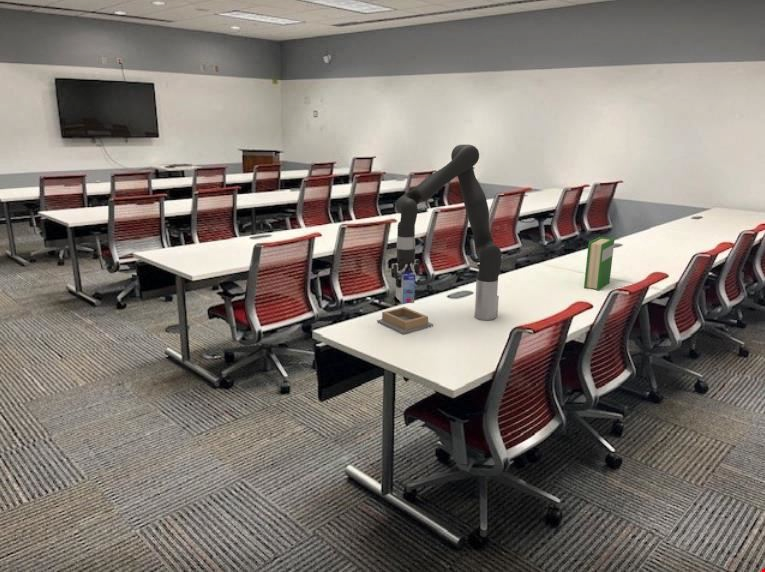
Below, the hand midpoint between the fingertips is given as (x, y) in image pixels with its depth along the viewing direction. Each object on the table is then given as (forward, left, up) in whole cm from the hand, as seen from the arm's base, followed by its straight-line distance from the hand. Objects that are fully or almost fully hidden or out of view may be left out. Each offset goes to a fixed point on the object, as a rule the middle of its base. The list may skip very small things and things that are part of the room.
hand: (405, 285), depth 237 cm
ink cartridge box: (0, 0, -6) cm, 6 cm away
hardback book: (-116, +15, -17) cm, 118 cm away
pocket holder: (0, 0, -17) cm, 17 cm away
